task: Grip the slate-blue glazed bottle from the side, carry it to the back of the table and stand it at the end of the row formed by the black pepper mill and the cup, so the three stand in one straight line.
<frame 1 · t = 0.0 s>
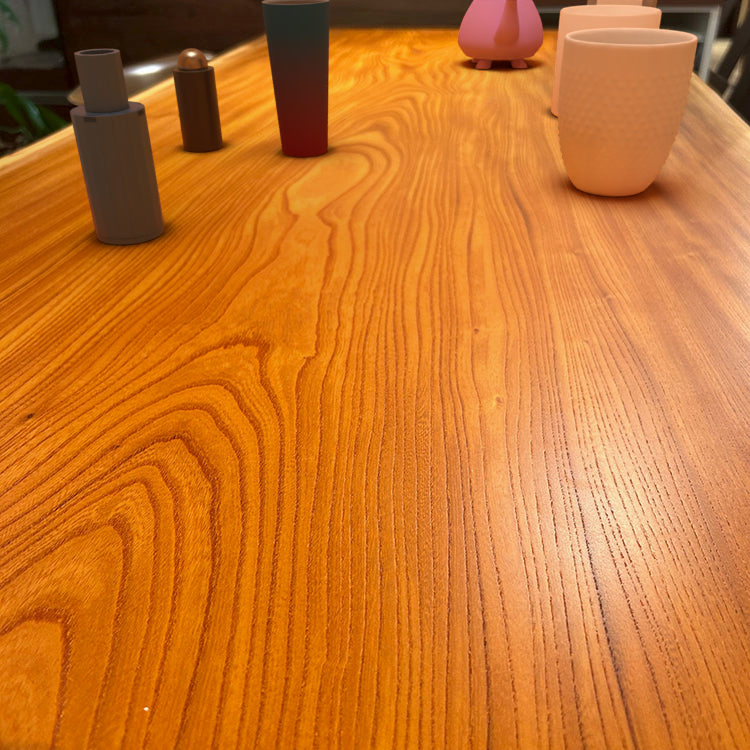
bottle: (131, 233, 64), on the table
cup 2: (597, 114, 99), on the table
pepper mill: (203, 147, 88), on the table
alarm clock: (612, 87, 114), on the table
teapot: (499, 66, 131), on the table
mug: (607, 184, 74), on the table
cup: (305, 152, 86), on the table
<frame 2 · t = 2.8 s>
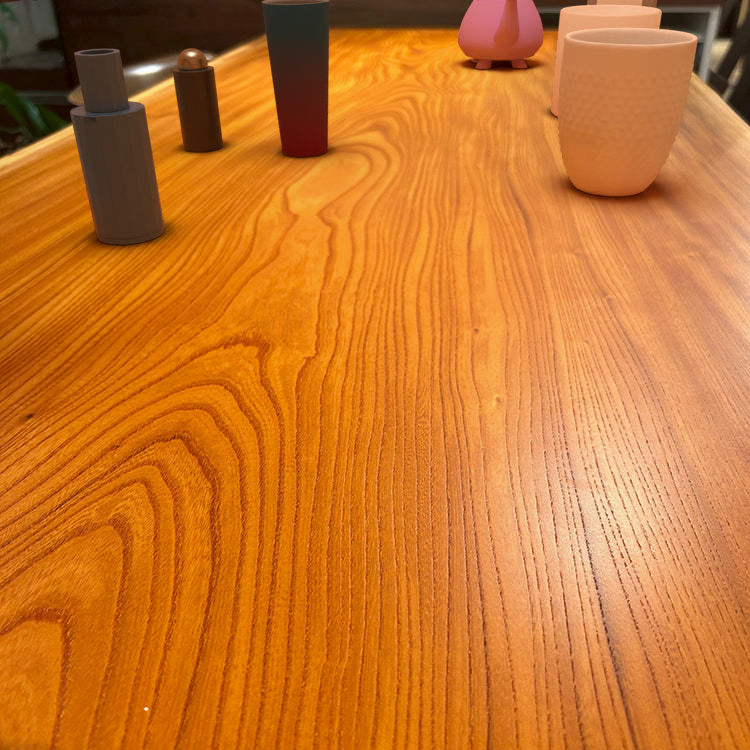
nothing on the table moved.
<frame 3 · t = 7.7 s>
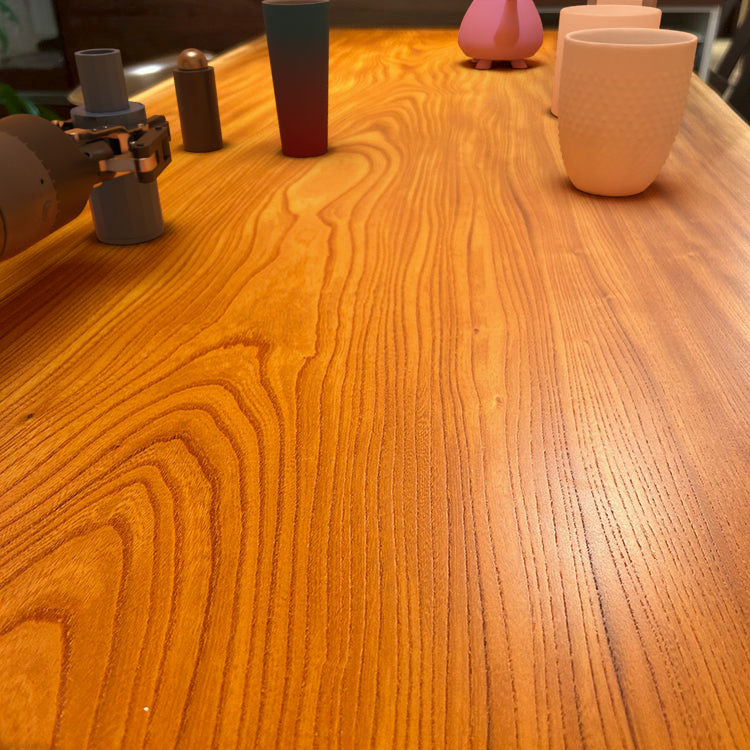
hand: (127, 127, 62), 8 cm above the table, tool horizontal, fingers closed on bottle, 5 cm apart
bottle: (131, 232, 64), on the table, touching gripper
everything else where it was.
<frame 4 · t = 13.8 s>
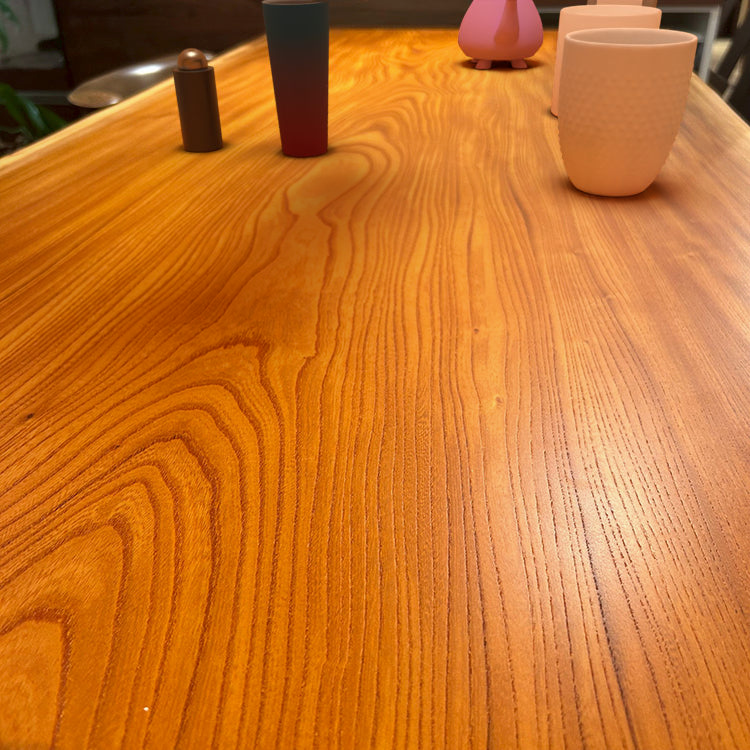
bottle: (339, 0, 69), point 16 cm above the table, touching gripper
everything else where it was.
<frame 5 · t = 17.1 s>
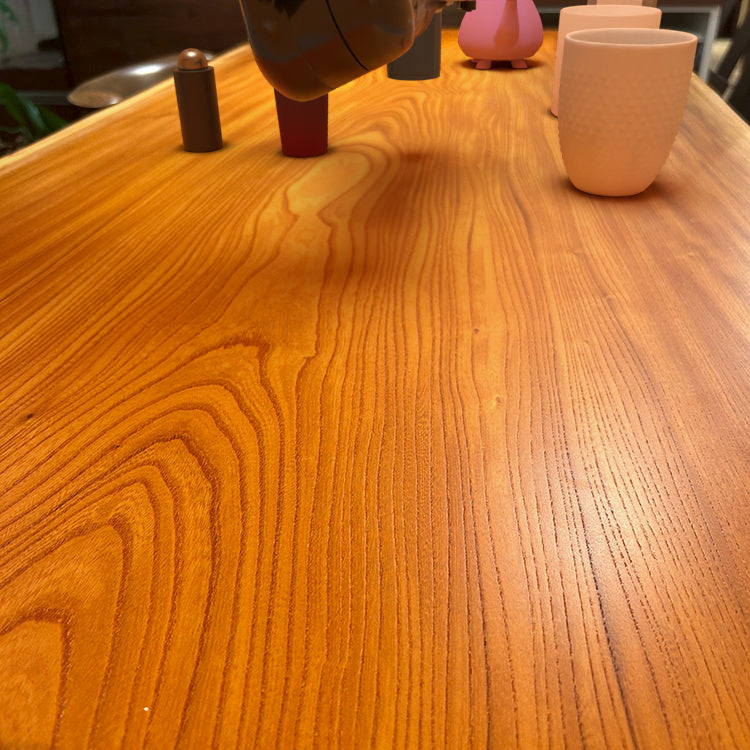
bottle: (413, 76, 79), point 8 cm above the table, touching gripper
everything else where it was.
when the fingers open (8 cm above the table, at t = 19.8 s): bottle stays where it is, on the table.
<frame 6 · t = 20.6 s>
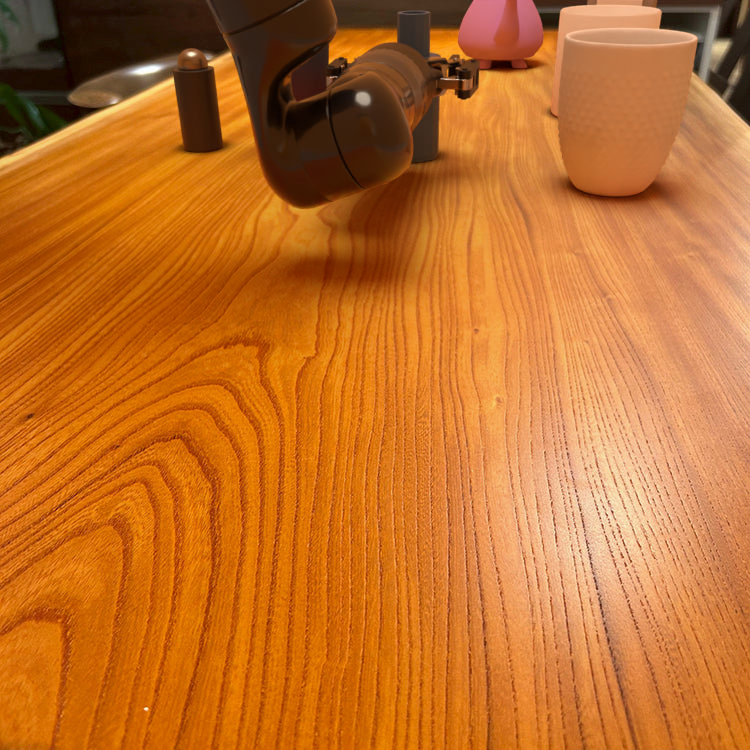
hand: (414, 64, 80), 9 cm above the table, tool horizontal, fingers open, 8 cm apart
bottle: (412, 155, 83), on the table
everything else where it was.
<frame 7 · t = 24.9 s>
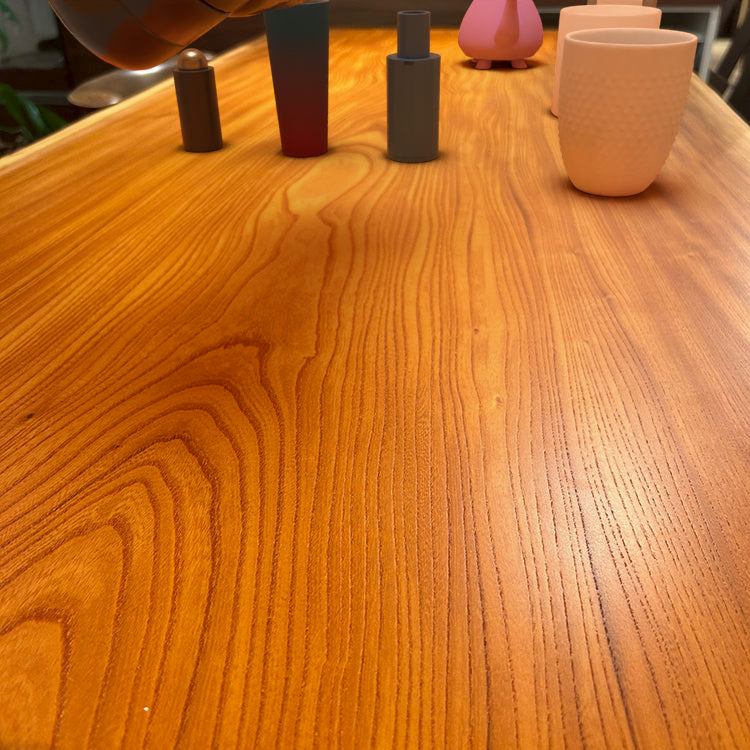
nothing on the table moved.
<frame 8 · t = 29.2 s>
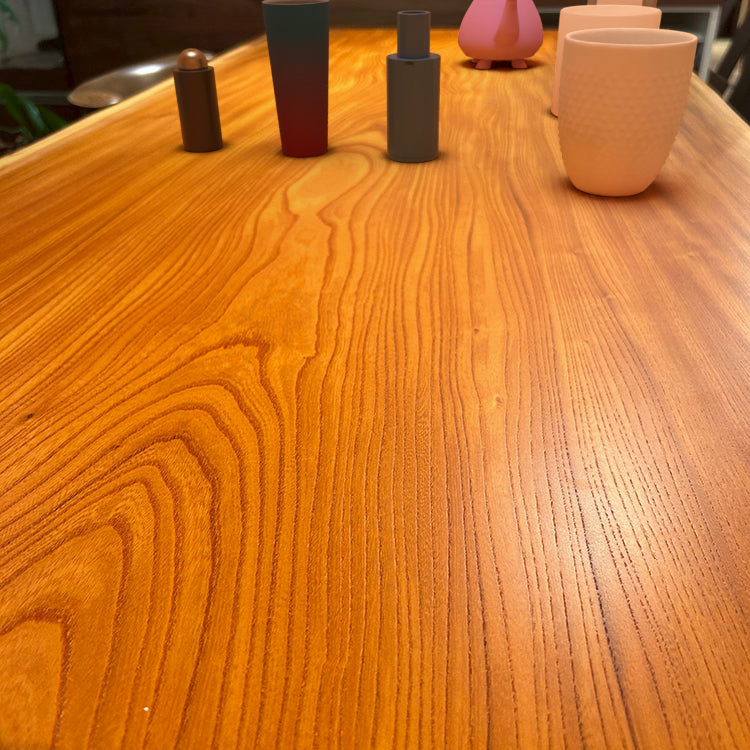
nothing on the table moved.
at the end: bottle 0.2 cm from the target spot on the table beside the cup, on the table; bottle tilted 0°; cup moved 0.2 cm from its start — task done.
